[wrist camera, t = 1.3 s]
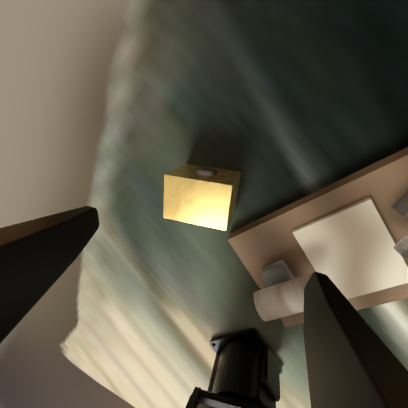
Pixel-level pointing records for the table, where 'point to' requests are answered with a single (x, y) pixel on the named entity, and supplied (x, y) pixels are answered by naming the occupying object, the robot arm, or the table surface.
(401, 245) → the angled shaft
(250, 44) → the table surface
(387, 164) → the base plate
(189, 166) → the yellow knobbed block
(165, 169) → the table surface
